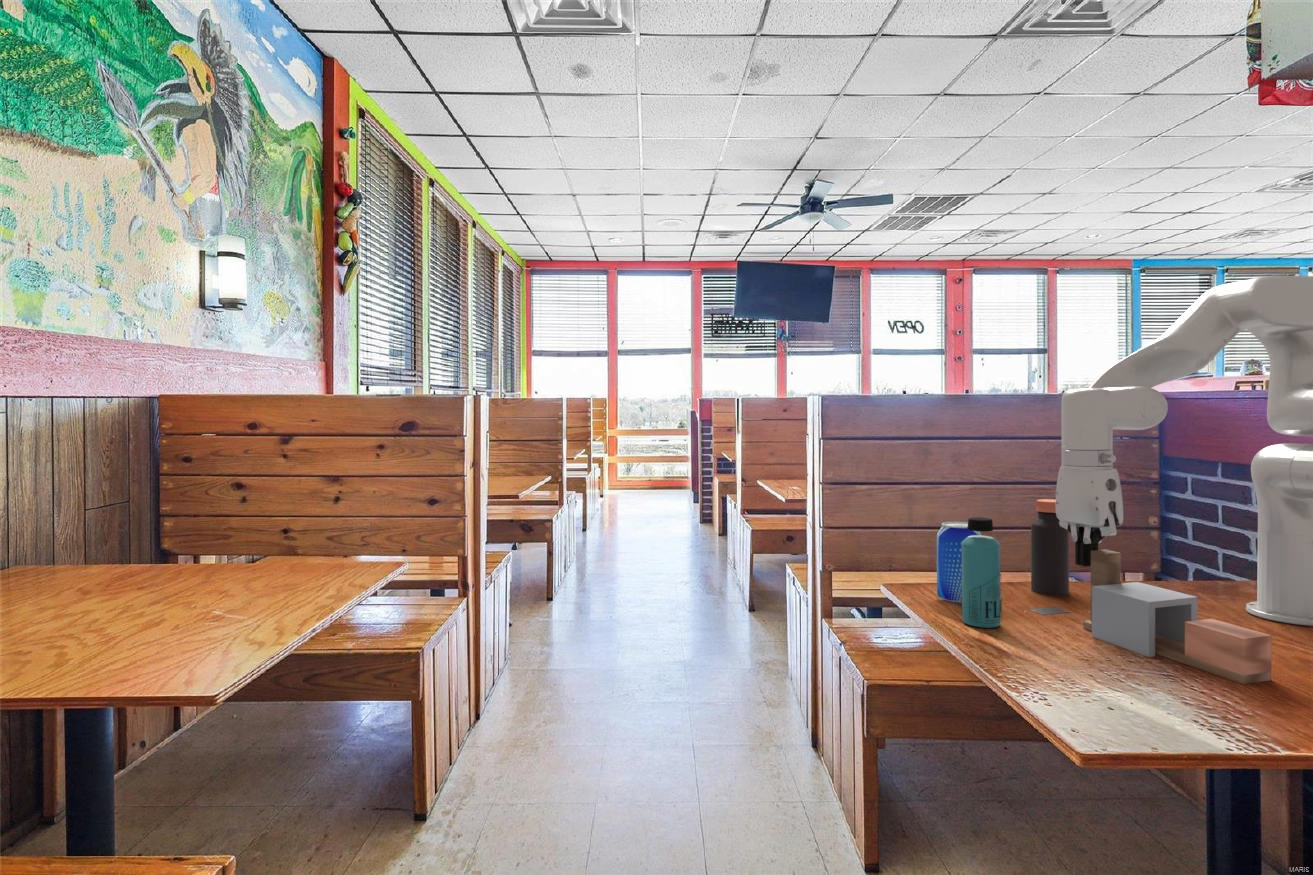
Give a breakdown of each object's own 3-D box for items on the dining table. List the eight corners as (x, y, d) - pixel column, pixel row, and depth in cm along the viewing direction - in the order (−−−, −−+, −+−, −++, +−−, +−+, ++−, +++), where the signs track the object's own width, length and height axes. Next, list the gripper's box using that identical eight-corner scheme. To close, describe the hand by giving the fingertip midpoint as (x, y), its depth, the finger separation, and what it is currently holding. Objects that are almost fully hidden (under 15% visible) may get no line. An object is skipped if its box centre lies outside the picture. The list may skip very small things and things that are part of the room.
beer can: (937, 606, 136) (936, 526, 135) (936, 596, 143) (936, 520, 143) (984, 610, 133) (983, 528, 132) (981, 599, 140) (980, 521, 140)
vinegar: (1025, 592, 145) (1025, 498, 144) (1060, 593, 144) (1060, 498, 143) (1039, 601, 138) (1039, 502, 137) (1075, 602, 137) (1075, 502, 136)
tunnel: (1137, 632, 115) (1137, 581, 115) (1197, 651, 105) (1197, 596, 105) (1091, 637, 113) (1091, 586, 113) (1148, 658, 103) (1148, 602, 103)
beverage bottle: (985, 639, 116) (985, 521, 115) (952, 628, 122) (951, 517, 121) (1010, 632, 119) (1010, 518, 118) (977, 622, 125) (976, 513, 124)
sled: (1107, 625, 118) (1107, 548, 118) (1271, 680, 93) (1272, 582, 93) (1083, 628, 117) (1083, 550, 117) (1243, 684, 92) (1244, 585, 92)
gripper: (1144, 461, 112) (1143, 572, 113) (1069, 456, 127) (1069, 555, 127) (1106, 463, 110) (1106, 576, 111) (1035, 458, 125) (1035, 558, 125)
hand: (1086, 564), depth 119 cm, fingers closed
